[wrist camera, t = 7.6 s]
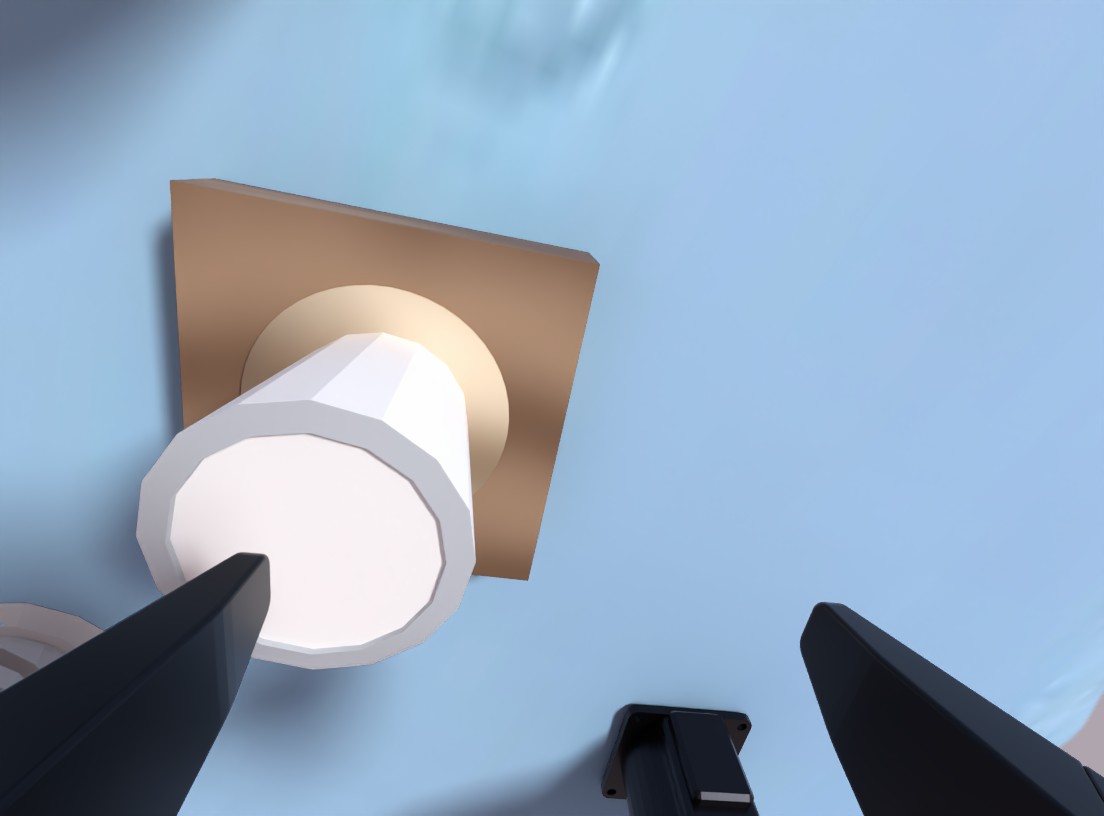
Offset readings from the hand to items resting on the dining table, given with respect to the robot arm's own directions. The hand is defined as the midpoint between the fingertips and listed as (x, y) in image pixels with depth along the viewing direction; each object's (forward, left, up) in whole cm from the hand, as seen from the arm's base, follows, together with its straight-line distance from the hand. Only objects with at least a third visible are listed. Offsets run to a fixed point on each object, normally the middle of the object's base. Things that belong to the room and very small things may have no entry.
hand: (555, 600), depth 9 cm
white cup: (-2, +5, -10) cm, 11 cm away
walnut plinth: (-2, +5, -12) cm, 13 cm away
